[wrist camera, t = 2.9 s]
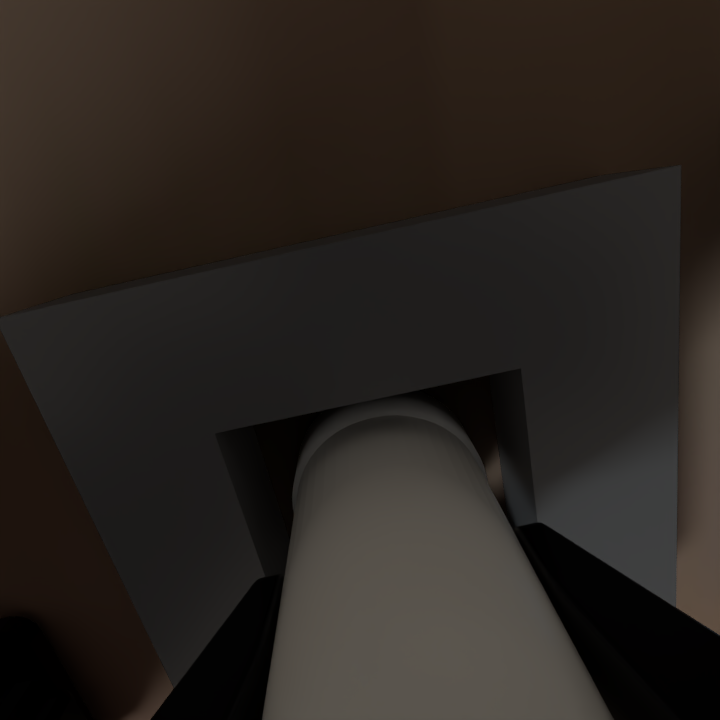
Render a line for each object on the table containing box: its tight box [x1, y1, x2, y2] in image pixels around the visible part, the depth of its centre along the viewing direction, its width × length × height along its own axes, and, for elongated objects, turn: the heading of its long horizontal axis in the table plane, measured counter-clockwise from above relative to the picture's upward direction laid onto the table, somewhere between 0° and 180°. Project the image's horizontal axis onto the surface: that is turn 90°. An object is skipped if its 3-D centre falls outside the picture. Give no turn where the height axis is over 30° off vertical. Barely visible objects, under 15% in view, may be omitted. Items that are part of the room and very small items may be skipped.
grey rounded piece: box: [262, 391, 614, 720], centre depth 6 cm, size 4×4×8 cm
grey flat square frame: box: [0, 165, 681, 688], centre depth 9 cm, size 10×10×2 cm
